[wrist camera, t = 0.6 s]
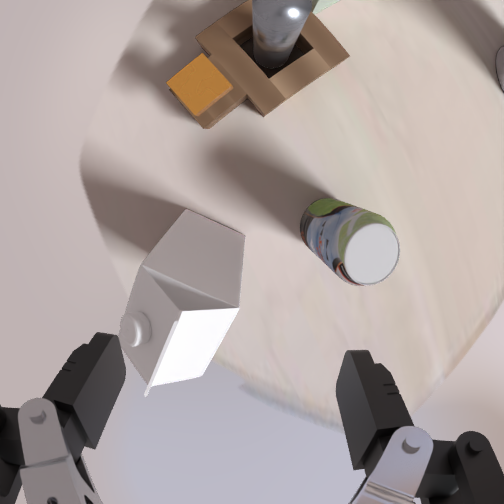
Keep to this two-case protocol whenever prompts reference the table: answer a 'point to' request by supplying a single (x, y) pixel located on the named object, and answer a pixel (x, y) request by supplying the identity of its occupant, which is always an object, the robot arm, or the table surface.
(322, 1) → the rack
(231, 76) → the socket block
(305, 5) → the peg
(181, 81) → the orange square-headed peg
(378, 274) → the beverage can
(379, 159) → the table surface
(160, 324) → the milk carton
